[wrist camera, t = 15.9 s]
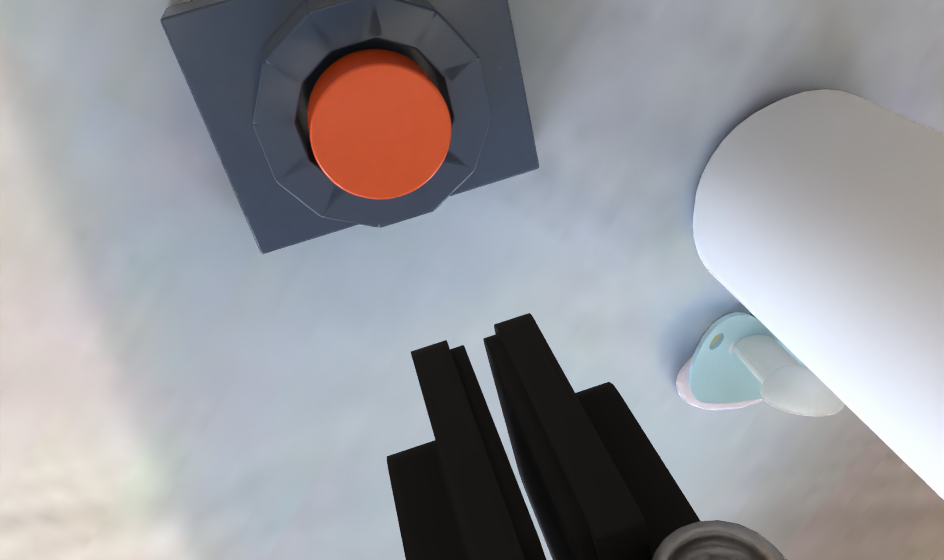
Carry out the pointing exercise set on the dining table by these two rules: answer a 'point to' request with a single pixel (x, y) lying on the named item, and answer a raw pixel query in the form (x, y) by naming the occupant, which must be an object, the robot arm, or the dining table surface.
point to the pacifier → (751, 371)
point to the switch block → (294, 75)
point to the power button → (378, 124)
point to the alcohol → (840, 254)
